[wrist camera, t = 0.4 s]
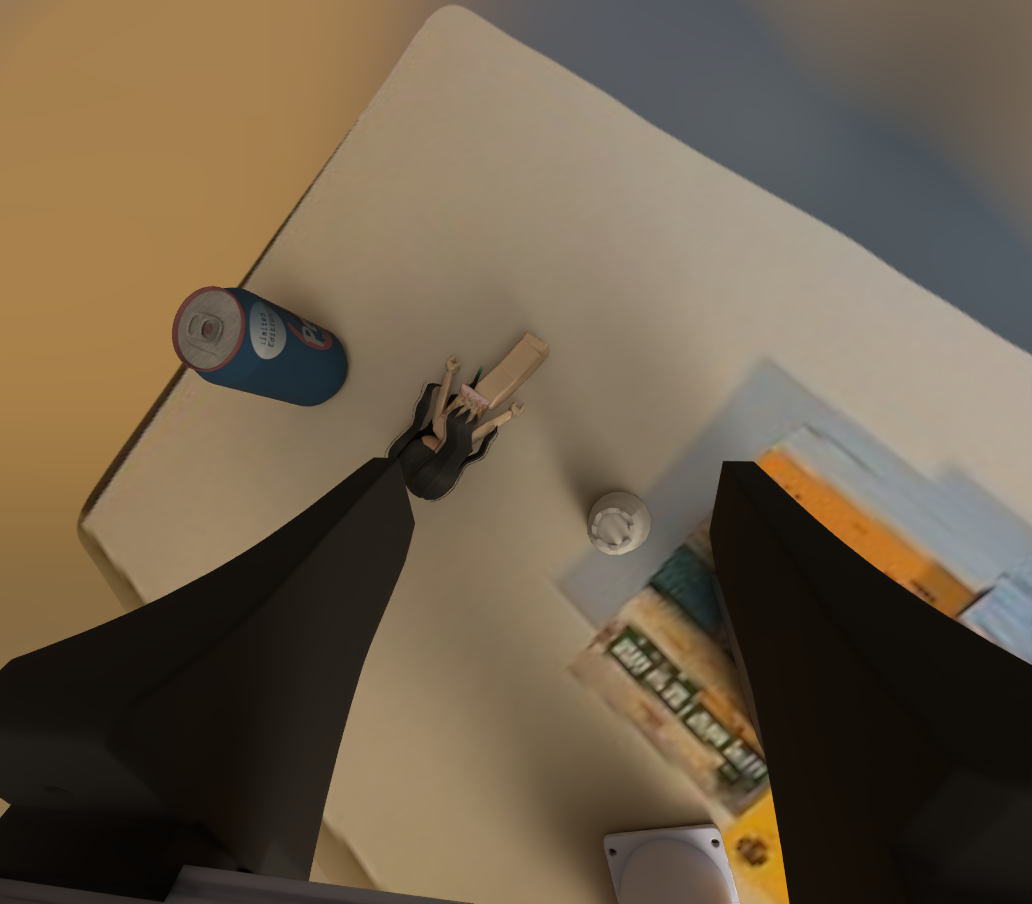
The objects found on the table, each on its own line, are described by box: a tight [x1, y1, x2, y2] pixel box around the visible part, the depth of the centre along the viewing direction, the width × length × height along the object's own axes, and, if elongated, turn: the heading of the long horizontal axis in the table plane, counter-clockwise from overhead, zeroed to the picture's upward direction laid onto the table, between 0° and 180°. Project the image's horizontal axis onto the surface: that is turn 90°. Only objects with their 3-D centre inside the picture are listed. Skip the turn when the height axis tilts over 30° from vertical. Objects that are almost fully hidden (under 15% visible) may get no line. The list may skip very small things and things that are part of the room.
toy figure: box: [384, 331, 549, 502], centre depth 38 cm, size 7×6×15 cm
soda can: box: [172, 286, 347, 406], centre depth 39 cm, size 7×7×12 cm
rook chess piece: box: [587, 492, 651, 555], centre depth 34 cm, size 4×4×8 cm
